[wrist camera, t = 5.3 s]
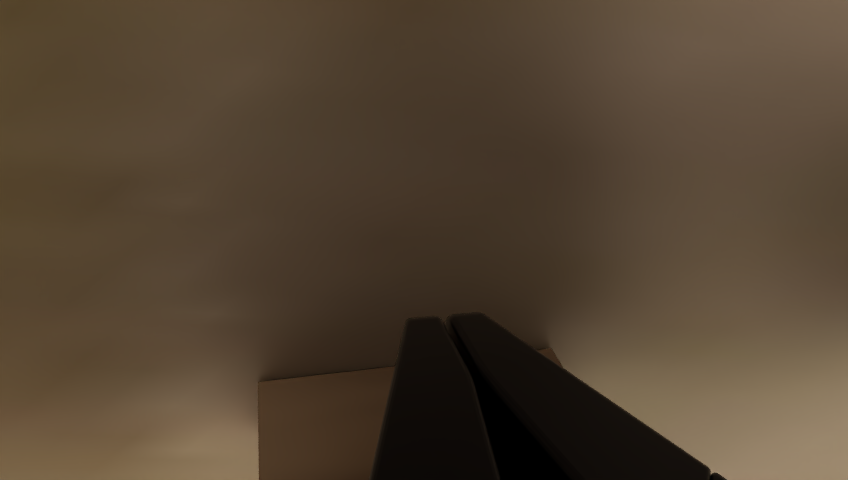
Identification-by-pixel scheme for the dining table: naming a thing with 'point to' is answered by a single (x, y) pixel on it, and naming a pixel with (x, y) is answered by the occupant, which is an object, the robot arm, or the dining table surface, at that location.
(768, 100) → the dining table surface
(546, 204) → the dining table surface
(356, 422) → the tray
